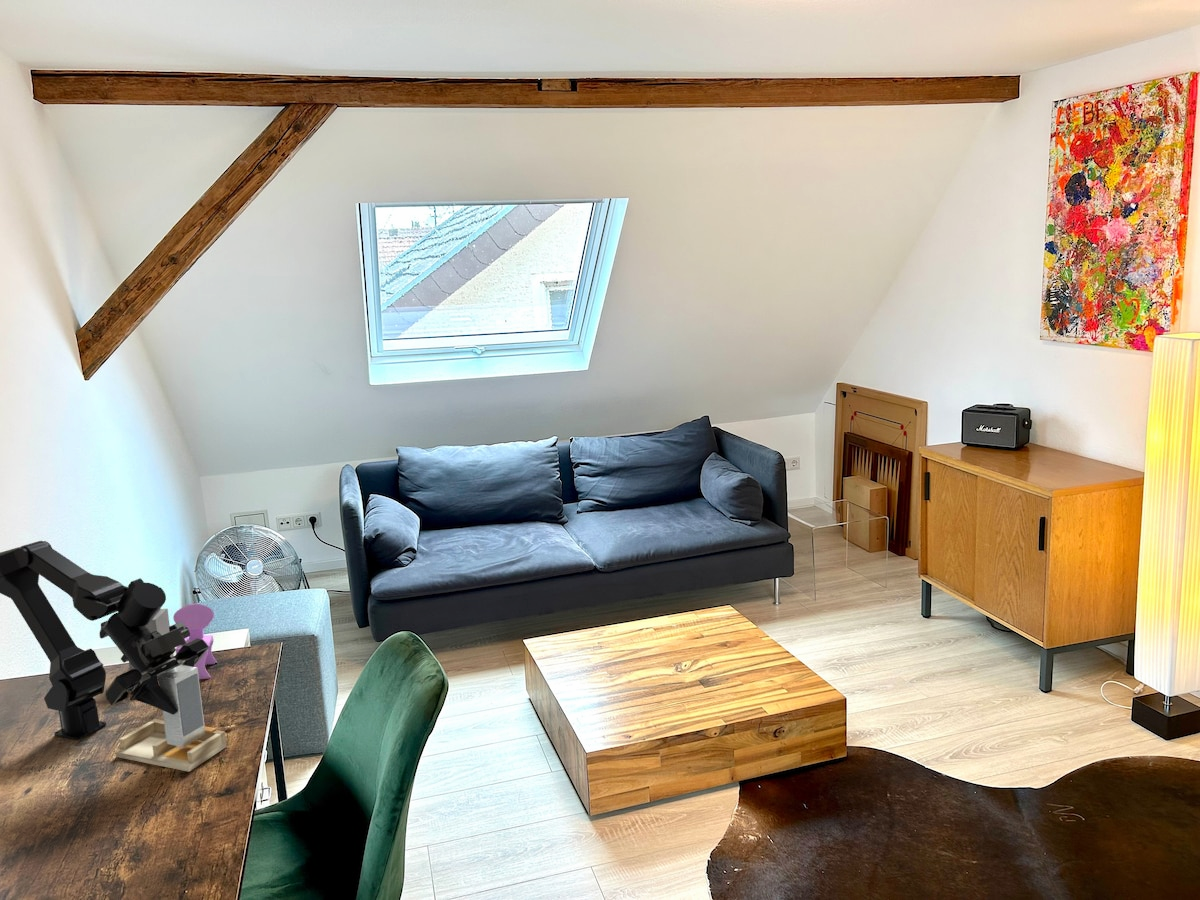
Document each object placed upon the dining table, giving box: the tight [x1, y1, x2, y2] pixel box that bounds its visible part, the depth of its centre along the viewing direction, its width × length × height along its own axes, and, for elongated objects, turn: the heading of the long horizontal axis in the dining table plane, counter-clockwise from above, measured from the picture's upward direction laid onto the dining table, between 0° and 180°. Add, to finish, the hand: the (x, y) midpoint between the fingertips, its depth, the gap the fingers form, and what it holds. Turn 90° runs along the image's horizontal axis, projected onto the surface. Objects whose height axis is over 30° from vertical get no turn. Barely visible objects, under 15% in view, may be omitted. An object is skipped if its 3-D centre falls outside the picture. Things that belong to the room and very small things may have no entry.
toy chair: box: [173, 603, 218, 680], centre depth 199 cm, size 8×9×15 cm
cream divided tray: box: [115, 718, 227, 772], centre depth 166 cm, size 9×17×3 cm, turn 69°
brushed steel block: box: [158, 665, 206, 748], centre depth 163 cm, size 4×5×13 cm
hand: (187, 706), depth 162 cm, fingers closed on brushed steel block, 5 cm apart
